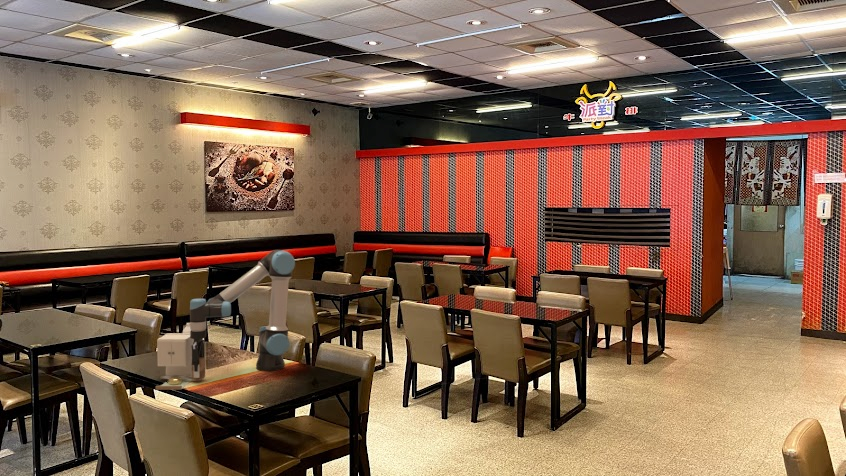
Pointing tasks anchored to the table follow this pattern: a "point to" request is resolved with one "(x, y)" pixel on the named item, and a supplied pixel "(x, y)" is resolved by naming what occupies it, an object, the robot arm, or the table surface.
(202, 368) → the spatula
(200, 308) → the robot arm
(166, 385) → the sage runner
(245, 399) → the table surface
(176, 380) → the brass puck
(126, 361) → the table surface
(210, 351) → the table surface
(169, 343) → the wall cabinet
